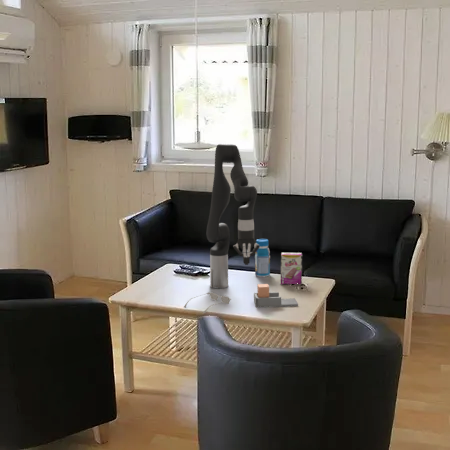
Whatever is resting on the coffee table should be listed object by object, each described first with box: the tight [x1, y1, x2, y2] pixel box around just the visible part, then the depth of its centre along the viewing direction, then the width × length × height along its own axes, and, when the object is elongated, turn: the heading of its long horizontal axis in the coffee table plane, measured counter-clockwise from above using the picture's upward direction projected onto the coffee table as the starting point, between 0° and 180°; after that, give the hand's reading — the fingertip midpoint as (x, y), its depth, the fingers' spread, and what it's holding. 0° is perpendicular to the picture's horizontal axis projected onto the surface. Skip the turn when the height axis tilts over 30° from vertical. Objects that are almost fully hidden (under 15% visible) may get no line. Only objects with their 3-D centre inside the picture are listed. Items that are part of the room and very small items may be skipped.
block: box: [256, 283, 270, 298], centre depth 320 cm, size 5×5×8 cm
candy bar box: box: [280, 252, 303, 285], centre depth 353 cm, size 11×5×16 cm, turn 84°
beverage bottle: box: [254, 238, 271, 278], centre depth 369 cm, size 8×8×20 cm
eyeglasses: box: [183, 292, 232, 314], centre depth 320 cm, size 15×18×4 cm
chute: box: [253, 291, 299, 309], centre depth 321 cm, size 20×9×4 cm, turn 94°
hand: (246, 264), depth 317 cm, fingers closed
